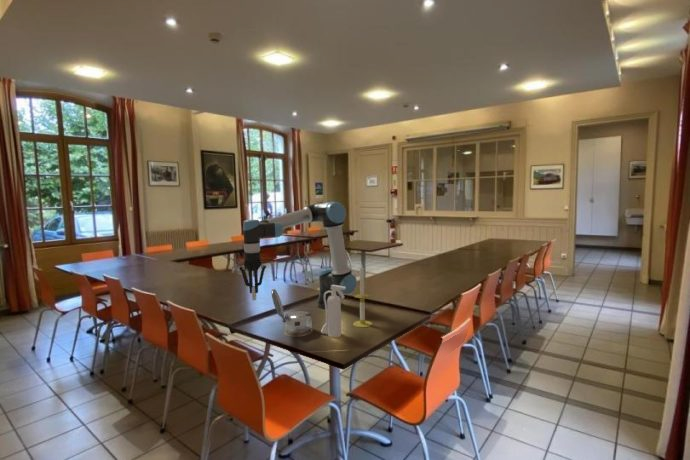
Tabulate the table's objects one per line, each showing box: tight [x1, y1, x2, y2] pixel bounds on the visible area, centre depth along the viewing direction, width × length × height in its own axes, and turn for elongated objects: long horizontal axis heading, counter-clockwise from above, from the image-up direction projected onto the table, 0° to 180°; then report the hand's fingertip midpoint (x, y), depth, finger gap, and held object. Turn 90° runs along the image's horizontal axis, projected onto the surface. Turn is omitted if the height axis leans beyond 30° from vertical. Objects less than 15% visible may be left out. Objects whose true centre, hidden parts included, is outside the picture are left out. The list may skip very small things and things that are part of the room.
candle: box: [352, 263, 373, 328], centre depth 187 cm, size 10×10×32 cm
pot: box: [282, 310, 313, 337], centre depth 179 cm, size 14×18×8 cm
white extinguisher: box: [320, 285, 346, 338], centre depth 172 cm, size 7×12×25 cm, turn 73°
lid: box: [271, 288, 285, 320], centre depth 177 cm, size 15×14×2 cm
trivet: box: [284, 328, 314, 337], centre depth 179 cm, size 14×14×1 cm
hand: (254, 299), depth 176 cm, fingers closed
